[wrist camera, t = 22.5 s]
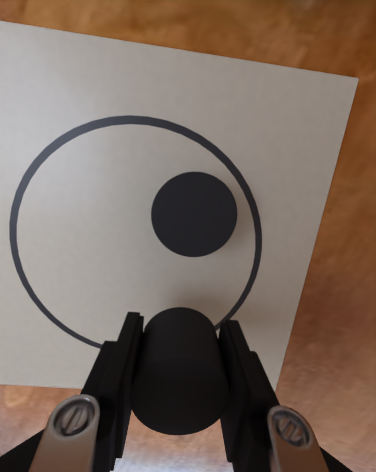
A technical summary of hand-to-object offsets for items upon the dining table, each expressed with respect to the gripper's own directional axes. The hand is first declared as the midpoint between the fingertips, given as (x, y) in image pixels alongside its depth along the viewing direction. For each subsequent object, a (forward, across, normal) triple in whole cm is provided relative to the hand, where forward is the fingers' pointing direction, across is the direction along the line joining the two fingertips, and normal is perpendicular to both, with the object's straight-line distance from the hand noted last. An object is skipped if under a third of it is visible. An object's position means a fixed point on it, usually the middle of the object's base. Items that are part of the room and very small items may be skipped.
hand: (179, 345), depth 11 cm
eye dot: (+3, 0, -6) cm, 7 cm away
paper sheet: (+4, +3, -3) cm, 5 cm away
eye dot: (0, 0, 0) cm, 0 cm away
